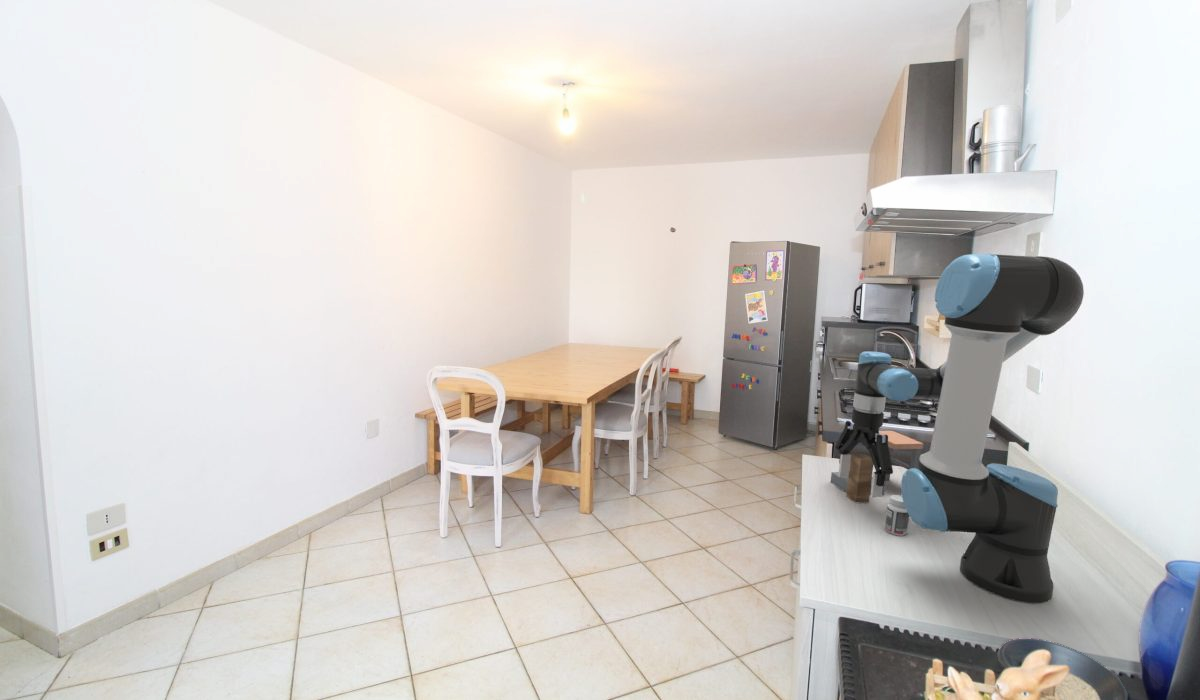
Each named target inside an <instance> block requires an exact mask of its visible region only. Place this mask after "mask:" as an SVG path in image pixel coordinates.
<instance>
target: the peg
mask: <svg viewBox="0 0 1200 700" xmlns="http://www.w3.org/2000/svg"><path fill="white" fill-rule="evenodd" d="M850 455H851V460H850V468H849V477H848V485H847V492H845V493H846V495H845V497H846V498H847V499H849V500H851V501H852V502H854V503H856V504H857V502H858V503H869V502H870V497H871V496H870V488H871V480H872V477H873V472H874V471H873V469H874V464H873V461H872V459H871V456H868V455H866V454H864V453H863V454H860V453H859V454H850Z"/></svg>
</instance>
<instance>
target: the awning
mask: <svg viewBox="0 0 1200 700" xmlns="http://www.w3.org/2000/svg"><path fill="white" fill-rule="evenodd" d="M879 434H881V435H888V448H889V453H890V458H891V463H892V464H895V465H898V466H900V467H901V468H904V469H906V470H908V469H911V468H916V469H917V468H918V463H919V458H920V456H921V455H922V454H921V452H922V450H923V448H924V443H923V442H921V441H918V440H916V439H914V438H910V437H909V436H907V435H903V434H901V433H898V432H897V431H894V430H879ZM894 450H911V454H910V463H905V461H904V462H903V461H902V460H899V459H897V458H895V457H893V456H894ZM887 469H888V468H887ZM890 478H891V474H886V476H885V482H889V481H890Z"/></svg>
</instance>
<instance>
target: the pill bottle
mask: <svg viewBox="0 0 1200 700" xmlns="http://www.w3.org/2000/svg"><path fill="white" fill-rule="evenodd" d="M886 507H887V508H886V515H885V522H884V529H885V531H886V532H888V533H890V534H891V535H895V536H898V537H899V536H900V537H901V536H905V535H907V534H908V528H909V520H910V516H909V514H908V512H907V510H906V508H905V505H904V502H903V498H902V495H899V494H891V495H890V496H889V503H888V504H887V506H886Z"/></svg>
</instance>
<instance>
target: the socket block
mask: <svg viewBox="0 0 1200 700" xmlns="http://www.w3.org/2000/svg"><path fill="white" fill-rule="evenodd" d="M838 474H839V471H834V472H833V471H831V474H830V483H831V484H833V485H835V486H836V487H838V488H839V489H840V490H842V489H843V490H842V491H844V492H845V491H846V492H845V493H847V485H848V477H849V476H848V477H838ZM872 479H873V476H872ZM871 487H872V480H871ZM885 490H886V483H884V486H883V489H882V495H885V492H886V491H885ZM870 495H871V488H870Z"/></svg>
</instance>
